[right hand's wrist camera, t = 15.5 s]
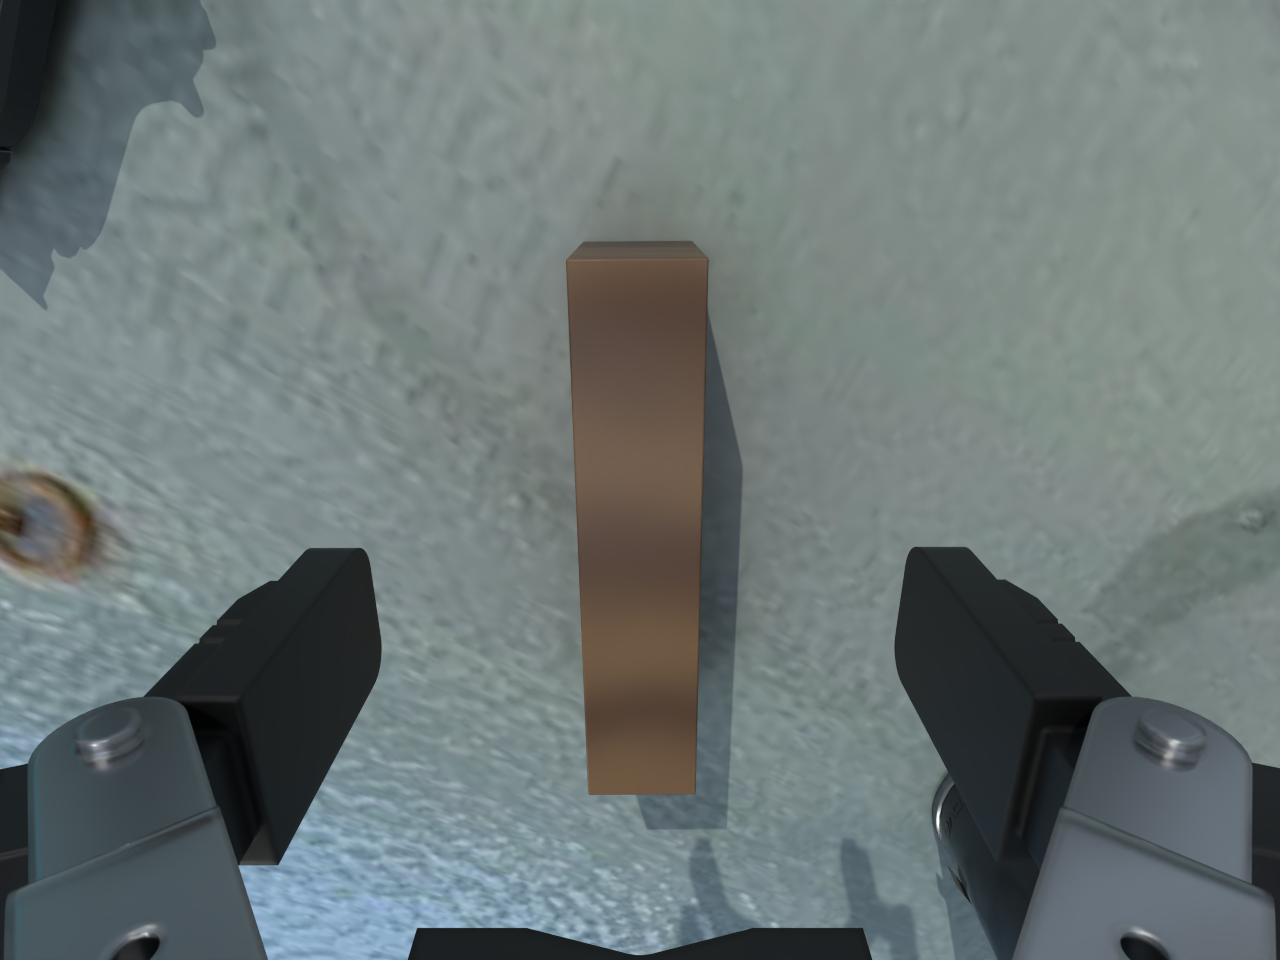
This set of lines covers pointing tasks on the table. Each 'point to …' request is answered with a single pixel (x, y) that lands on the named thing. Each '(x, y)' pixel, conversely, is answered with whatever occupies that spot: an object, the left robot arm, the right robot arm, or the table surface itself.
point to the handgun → (21, 66)
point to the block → (639, 505)
